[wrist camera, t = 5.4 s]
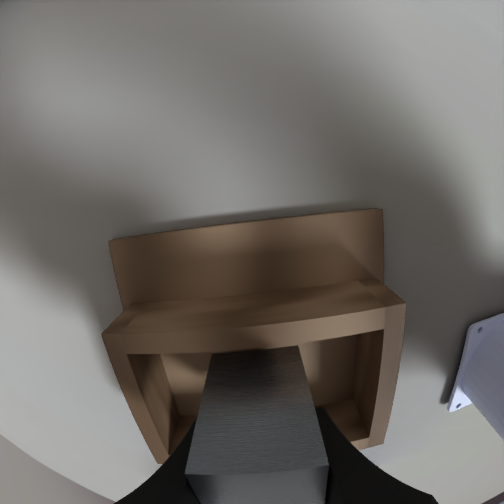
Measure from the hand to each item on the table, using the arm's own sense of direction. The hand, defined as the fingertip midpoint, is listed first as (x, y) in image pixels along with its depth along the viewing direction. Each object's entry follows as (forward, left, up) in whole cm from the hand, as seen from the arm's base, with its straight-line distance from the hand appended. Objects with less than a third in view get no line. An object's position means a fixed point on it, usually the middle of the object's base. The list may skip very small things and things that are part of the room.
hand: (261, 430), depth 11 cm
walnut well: (0, 0, -6) cm, 6 cm away
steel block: (0, 0, -3) cm, 3 cm away
